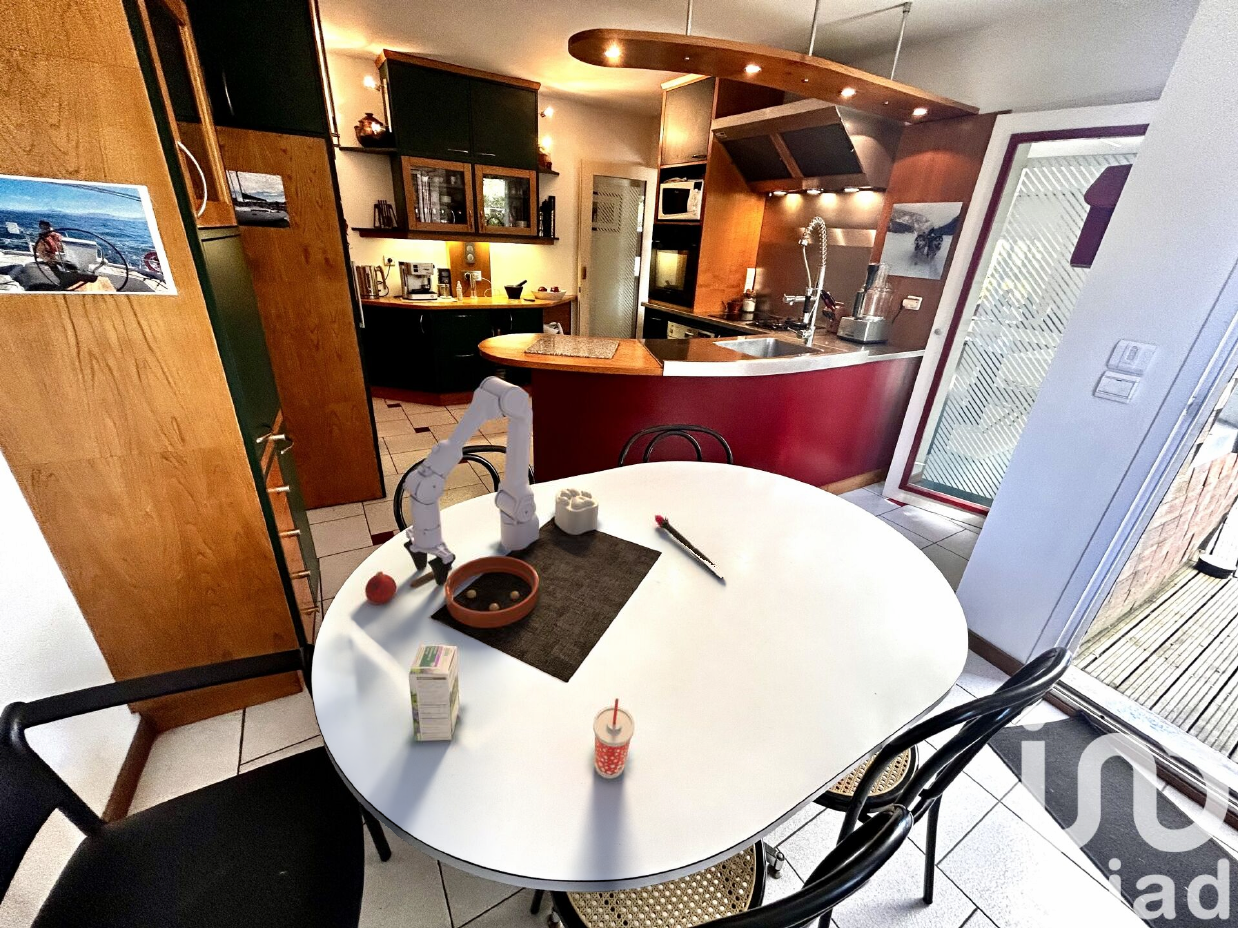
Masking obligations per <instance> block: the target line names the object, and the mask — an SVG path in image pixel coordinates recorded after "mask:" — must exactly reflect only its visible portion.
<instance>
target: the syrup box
mask: <svg viewBox="0 0 1238 928" xmlns="http://www.w3.org/2000/svg"><path fill="white" fill-rule="evenodd" d="M457 648H458V647H457V646H455V645H444V644H443V645H442V644H426V645H419V647H418V649H417V653H416V655H415V657H414V660H413V662H412V666H411V668H410V671H409V673H408V686H409V695H410V705H411V713H412V722H413V723H412V725H413V734H414V741H416V742H418V741H419V742H420V741H421V742H425V741H427V742H429V741H452V740H453V737H454V733H455V729H456V724H457V721H458V717H459V714H458V712H459V708H460V691H459V690H460V689H459V687H460V686H459V668H458V652H457V651H458V649H457Z"/></svg>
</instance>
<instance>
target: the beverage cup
mask: <svg viewBox="0 0 1238 928" xmlns="http://www.w3.org/2000/svg"><path fill="white" fill-rule="evenodd" d="M635 725H636V724H635V720H634V716H632V714H631V713H630V712H629V711H628V709H627V710H626V709H625V708H623V707H621V706H619V698H618V697H617V698H615V699H614V705H610V706H605V707H603V708H602V709H599V710H598V711H597V713H596V715H594V718H593V723H592V726H593V728H592V729H593V733H594V768H595V770H596V772H597V774H598V775H599V776H600V777H603V778H604V779H609V780H610V779H616V778H618V777H619V776H620V775H622V773H623V772H624V769H625V765H626V762H627V758H628V753H629V749H630V743H631V739H632V738H633V736H634V733H635V727H636V726H635Z"/></svg>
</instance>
